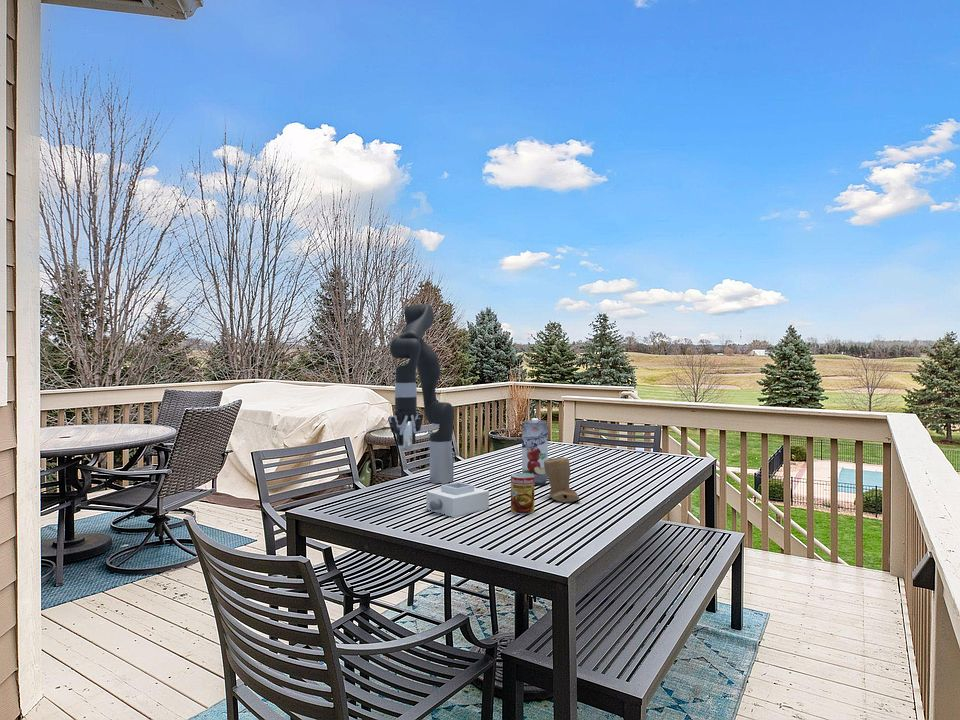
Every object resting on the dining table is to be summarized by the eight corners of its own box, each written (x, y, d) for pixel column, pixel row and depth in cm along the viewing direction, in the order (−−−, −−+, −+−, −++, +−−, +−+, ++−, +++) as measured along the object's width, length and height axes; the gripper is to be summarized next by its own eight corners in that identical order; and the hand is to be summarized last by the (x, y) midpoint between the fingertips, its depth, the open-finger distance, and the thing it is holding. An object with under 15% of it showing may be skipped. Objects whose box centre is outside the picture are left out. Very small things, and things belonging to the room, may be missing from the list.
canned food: (510, 513, 185) (510, 477, 185) (510, 507, 193) (510, 472, 193) (534, 514, 185) (534, 477, 185) (533, 508, 193) (533, 473, 193)
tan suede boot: (542, 493, 214) (542, 454, 214) (574, 494, 213) (574, 454, 214) (546, 503, 199) (546, 461, 199) (579, 503, 198) (579, 461, 198)
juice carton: (522, 481, 237) (522, 416, 237) (547, 481, 236) (547, 417, 236) (521, 485, 228) (521, 418, 229) (548, 486, 227) (547, 419, 228)
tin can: (407, 448, 199) (407, 420, 199) (415, 449, 196) (414, 421, 196) (397, 449, 196) (397, 421, 196) (404, 451, 193) (404, 422, 193)
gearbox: (461, 501, 202) (461, 479, 202) (488, 508, 192) (488, 485, 192) (419, 510, 189) (419, 487, 189) (446, 519, 179) (446, 493, 179)
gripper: (415, 394, 204) (415, 441, 204) (382, 396, 194) (382, 445, 194) (428, 395, 199) (428, 443, 198) (395, 397, 189) (395, 448, 189)
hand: (406, 444), depth 196 cm, fingers closed on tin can, 4 cm apart
